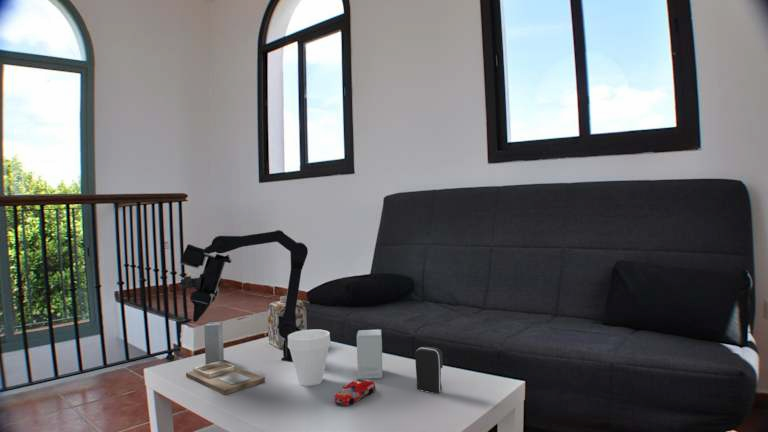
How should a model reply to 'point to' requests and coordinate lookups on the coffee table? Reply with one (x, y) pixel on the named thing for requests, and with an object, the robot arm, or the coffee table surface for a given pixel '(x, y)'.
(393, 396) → the coffee table surface
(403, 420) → the coffee table surface
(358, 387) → the race car
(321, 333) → the cup
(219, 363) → the wooden board
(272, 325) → the decorative jar
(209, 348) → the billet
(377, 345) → the supplement box
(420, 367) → the battery charger
